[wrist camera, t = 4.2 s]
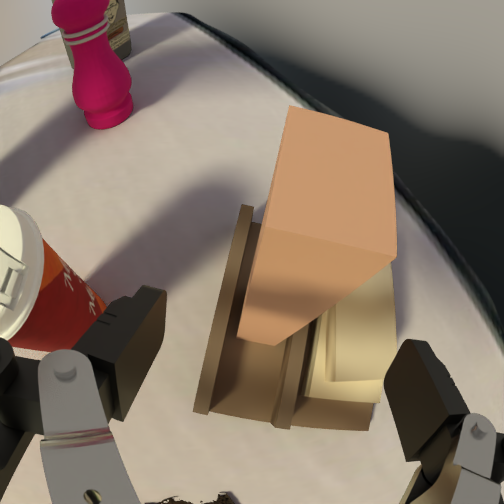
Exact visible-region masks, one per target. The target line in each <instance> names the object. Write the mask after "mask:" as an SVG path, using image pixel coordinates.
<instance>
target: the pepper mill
mask: <svg viewBox="0 0 504 504" xmlns="http://www.w3.org/2000/svg"><path fill="white" fill-rule="evenodd" d="M109 2H110V0H55V1H54V3H53V6H52V11H51V14H52V20H53V22H54V24H55V25H56V26H58V27H59V28H62V29H64V31H63V33H62V36H63V37H64V43H65V44H66V45H69V46H70V48H71V51H72V54H73V58H74V76H73V83H72V93H73V97H74V101H75V103H76V105H77V106H78V107H79V108H80V109H82V110H84V115H85V118H86V120H87V123H88V124H89V126H90V127H92V128H94V129H107V128H111V127H114V126H116V125H118V124H120V123H121V122H123V121H124V120H125V119H127V118H128V117H129V115H130V114H131V112H132V110H133V102H132V98H131V94H130V93H129V90H130V87H131V83H132V82H131V77H130V74H129V71H128V69H127V67H126V66H125V64H124V63H123V62H122V61H121V59H120V58H119V57H118V56H117V55H116V54H115V52H114V51H113V50H112V48H111V46H110V44H109V41H108V38H107V29H108V28H109V25H110V24H109V22H108V16H107V15H105V14H104V13H105V11H106V9H107V8H108V6H109Z"/></svg>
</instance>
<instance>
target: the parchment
mask: <svg viewBox="0 0 504 504" xmlns="http://www.w3.org/2000/svg"><path fill="white" fill-rule="evenodd" d="M220 493H221V492H220ZM167 499H168V500H169V502H168V501H167ZM167 499H166V500H163V501H162V502H159V503H157V504H161V503H162V504H193V503H191V502H186V501H183V500H180V499H179V500H180V501H174V499H173V497H172V498H167ZM164 501H167V502H168V503H163V502H164ZM201 502H203V501H201ZM201 502H200V503H201ZM204 504H235V503H234V502H233V501H232V500H231V499H230V497H229V496H228V495H227V493H226V495H223V496H220V494H218V500H217V501H214V502H211V501H210V503H204Z"/></svg>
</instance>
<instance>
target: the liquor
mask: <svg viewBox="0 0 504 504" xmlns="http://www.w3.org/2000/svg"><path fill="white" fill-rule="evenodd" d="M54 1H55V0H52V3H54ZM104 14H105V15H107V16H108V22H109V24H110V25H109V28H108V29H107V38H108V41H109V44H110V46H111V48H112V50H113V51H114V52H115V54H116V55H117V56H118V57H119V58H120V59H121V60H122V59H123V58H125V57H126V56H128V55H129V54H130V51H131V40H130V35H129V29H128V23H127V16H126V10H125V3H124V0H110V2H109V6H108V8H107V9H106V11H105V13H104ZM63 31H64V29H62V28H60V32H61V35H62V33H63ZM62 38H63V42H64V37H63V36H62ZM64 45H65V48H66V51H67V54H68V57H69V60H70V63H71V66H72V68H73V69H74V58H73V54H72V51H71V48H70V46H69V45H66V44H65V43H64Z"/></svg>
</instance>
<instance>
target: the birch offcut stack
mask: <svg viewBox="0 0 504 504" xmlns="http://www.w3.org/2000/svg"><path fill="white" fill-rule="evenodd" d="M396 354H397V340H396V317H395V302H394V289H393V278H392V267H391V262H390V263H389V264H388V265H387V266H385V267H384V268H383V269H382V270H380V271H379V272H378V273H376V274H375V275H374V276H373V277H371V278H370V279H369V280H367V281H366V282H365V283H363V284H362V285H361V286H360V287H358V288H357V289H356V290H354V291H353V292H352V293H350V294H349V295H347V296H346V297H345V298H343V299H342V300H341V301H339V302H338V303H337V304H335V305H334V306H332V307H331V308H330V309H328V310H327V311H325V312H324V313H323V314H321V315H320V316H318V317H317V318H315V319H314V320H313V327H312V333H311V340H310V346H309V352H308V358H307V364H306V370H305V375H304V381H303V386H302V392H301V395H302V396H307V397H314V398H322V399H332V400H342V401H354V402H369V403H380V398H381V392H382V385H383V379H384V378H385V375H386V372H387V370H388V369H389V367H390V365H391V363H392V362H393V360H394V358H395V356H396Z"/></svg>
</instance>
